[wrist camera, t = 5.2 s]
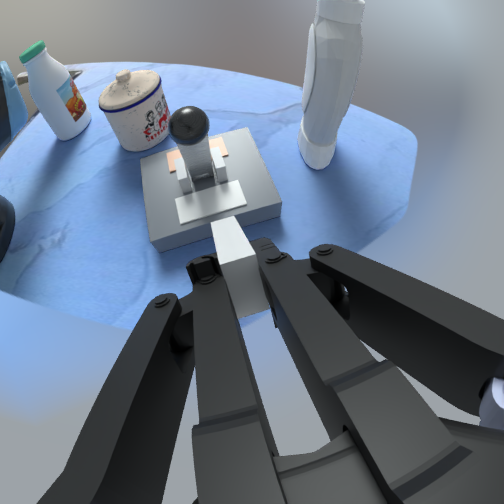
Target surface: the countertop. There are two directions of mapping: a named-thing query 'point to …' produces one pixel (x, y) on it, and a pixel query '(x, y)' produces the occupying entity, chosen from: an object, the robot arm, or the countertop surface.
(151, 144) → the teacup with lid
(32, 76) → the milk bottle
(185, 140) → the lever
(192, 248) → the countertop surface
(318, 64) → the soap bottle
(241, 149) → the switch base
